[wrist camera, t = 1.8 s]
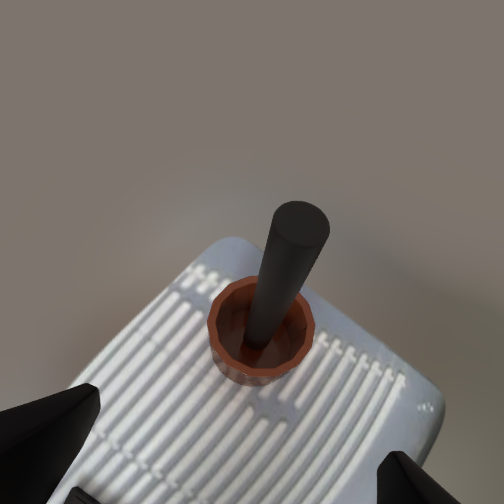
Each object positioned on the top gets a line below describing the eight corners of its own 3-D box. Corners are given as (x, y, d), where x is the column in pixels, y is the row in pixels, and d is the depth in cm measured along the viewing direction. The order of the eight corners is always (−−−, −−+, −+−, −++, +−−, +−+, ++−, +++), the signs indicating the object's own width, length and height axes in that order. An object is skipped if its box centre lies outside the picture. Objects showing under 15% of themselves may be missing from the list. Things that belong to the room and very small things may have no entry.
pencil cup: (275, 400, 19) (290, 394, 15) (194, 361, 20) (187, 344, 16) (308, 327, 22) (329, 302, 18) (234, 292, 23) (237, 259, 19)
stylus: (260, 359, 20) (320, 256, 8) (237, 348, 20) (263, 230, 9) (270, 338, 21) (337, 214, 9) (248, 327, 21) (286, 191, 10)
